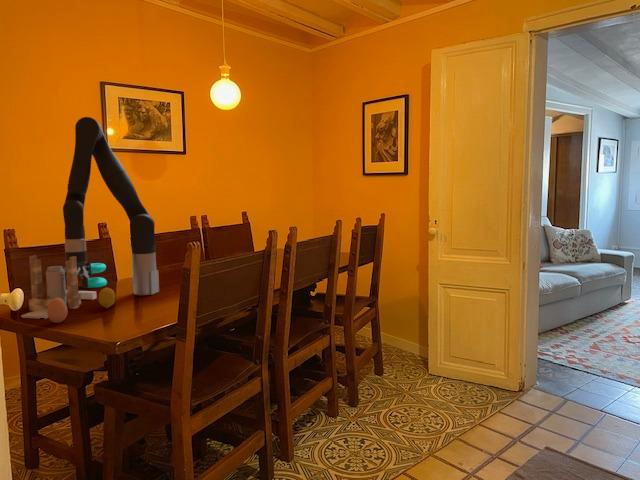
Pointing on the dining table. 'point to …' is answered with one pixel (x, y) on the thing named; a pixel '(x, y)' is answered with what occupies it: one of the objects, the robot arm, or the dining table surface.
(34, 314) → the coaster
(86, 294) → the bar
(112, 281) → the dining table surface
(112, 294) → the lemon
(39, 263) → the cradle
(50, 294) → the energy drink can
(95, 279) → the donuts
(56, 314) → the egg
